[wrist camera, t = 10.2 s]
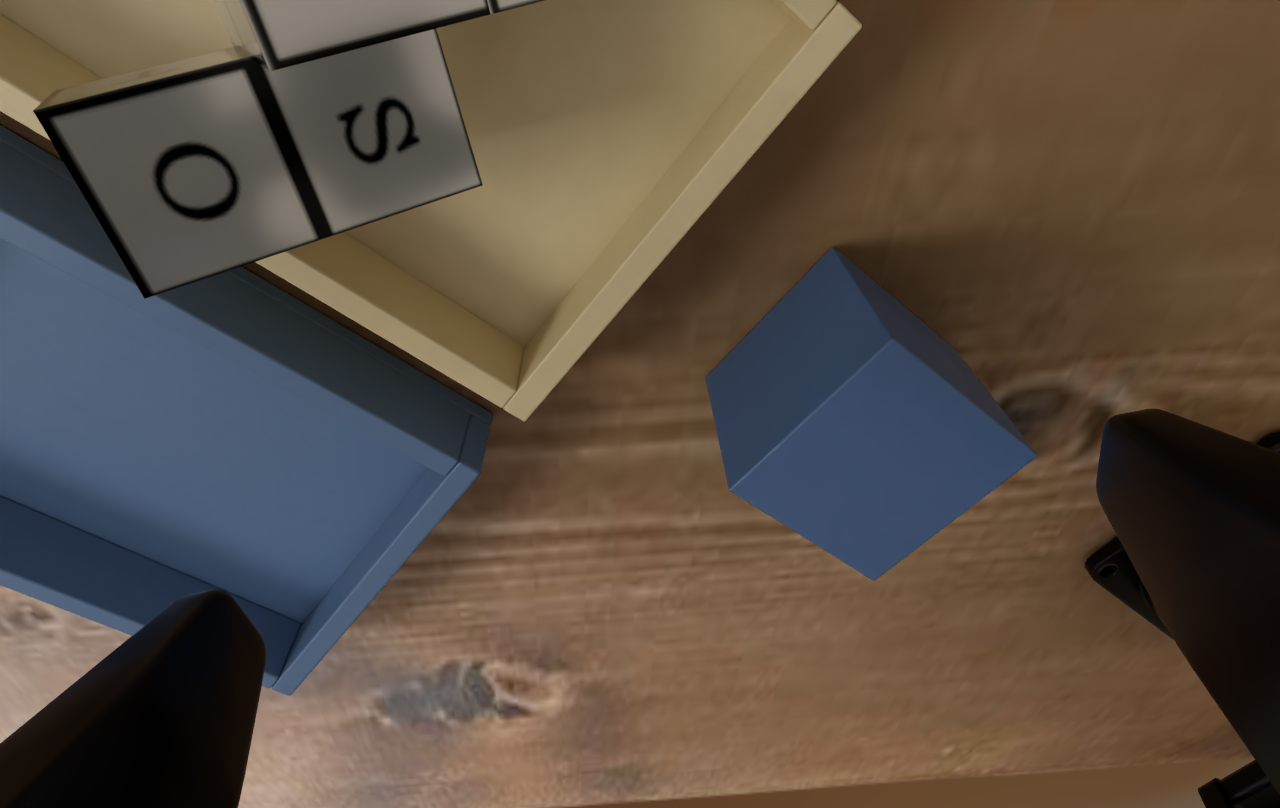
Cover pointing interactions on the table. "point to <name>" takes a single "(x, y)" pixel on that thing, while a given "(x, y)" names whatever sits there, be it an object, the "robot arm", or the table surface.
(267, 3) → the building blocks
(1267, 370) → the table surface
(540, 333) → the cream tray
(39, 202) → the slate-blue tray
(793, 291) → the blue block
